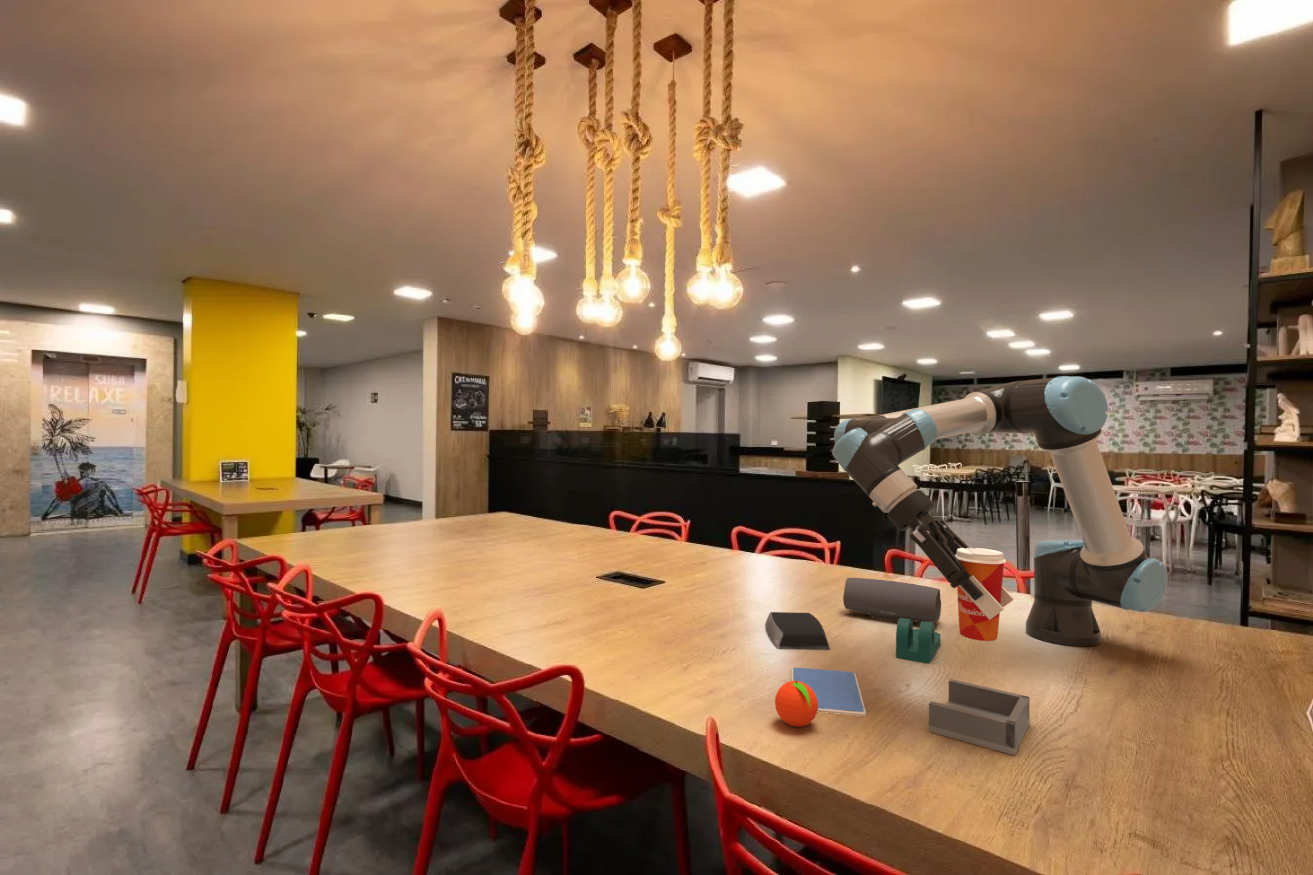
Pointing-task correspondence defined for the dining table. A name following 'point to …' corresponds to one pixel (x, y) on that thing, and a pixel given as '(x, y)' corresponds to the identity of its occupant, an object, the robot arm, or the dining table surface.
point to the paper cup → (990, 575)
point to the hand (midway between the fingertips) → (1002, 608)
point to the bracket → (916, 641)
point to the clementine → (796, 703)
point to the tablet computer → (833, 690)
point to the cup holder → (981, 716)
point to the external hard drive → (796, 631)
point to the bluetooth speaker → (892, 600)
